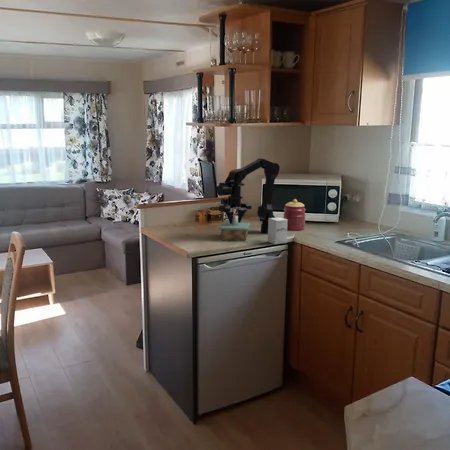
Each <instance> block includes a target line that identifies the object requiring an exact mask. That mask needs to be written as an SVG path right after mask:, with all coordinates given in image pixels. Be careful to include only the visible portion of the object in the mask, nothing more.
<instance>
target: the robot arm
mask: <svg viewBox="0 0 450 450" xmlns="http://www.w3.org/2000/svg"><path fill="white" fill-rule="evenodd" d="M260 168H261V169H263V172H264V176H265V183H264V190H263V197H262V198H263V199H262V203H261V204H260V205H258V206H257V211H256V214H257V217H258V218H259V221H260V222H261V223H260V232H261V234H268V221H269V218H276V217H275V215H274V209H273V206H272V202H273V195H274V189H275V188H274V187H275V181H276V179H277V177H278V175H279V173H280V165H279V164H278V163H277V162H271V160H270V161H269V160H267V159H265V158H257V159H256V160H254V161H253V162H250V163H248V164H247V165H245V166H243V167H241V168H235V169H232V170H229V172H228V175H227V177H226V179H225V180H224V182H219V183H218V185H217V187H216V193H217V195H218V196H219V197H221V196H224V197H222V198H220V204H221V205H219V206H218V208H217V210H218V211H219V212H222V213H225V214H226V217H227V218H228V222H230V224H232V220H233V215H235V214H234V211H233V210H236V211H237V216H238V223H240V222H242V220H243V217H244V215H245V214H246V212H248V210H252V204H251V203H248V202H241V200H242V199H243V196H242V186H243V187H244V186H245V184H244V183H243V180H245V178H247V176H249V174H251V173H254V172H255V171H256V170H258V169H260ZM225 196H228V198H226V197H225Z"/></svg>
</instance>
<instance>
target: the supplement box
mask: <svg viewBox="0 0 450 450" xmlns="http://www.w3.org/2000/svg"><path fill="white" fill-rule="evenodd" d="M287 221H288V220H287V219H284V217H275V218H269V221H268V233H267V242H269V243H271V244H274V245H279V244H287V240H288V237H287V236H288V230H287Z"/></svg>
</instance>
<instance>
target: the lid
mask: <svg viewBox="0 0 450 450" xmlns="http://www.w3.org/2000/svg"><path fill="white" fill-rule="evenodd" d="M250 225H251V222H242V221H240V223H238V214H236V215H235V214H233V220H232V224H230V222H229V221H222V223H221V224H220V225H219V228H218V229H219V230H221V229H226V230H248V231H249V228H250Z"/></svg>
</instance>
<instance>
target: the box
mask: <svg viewBox="0 0 450 450" xmlns="http://www.w3.org/2000/svg"><path fill="white" fill-rule="evenodd" d="M220 232H221V234H220V240H221V241H237V242H247V238H248V236H249V233H248V232H249V229H248V230H226V229H220Z"/></svg>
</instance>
